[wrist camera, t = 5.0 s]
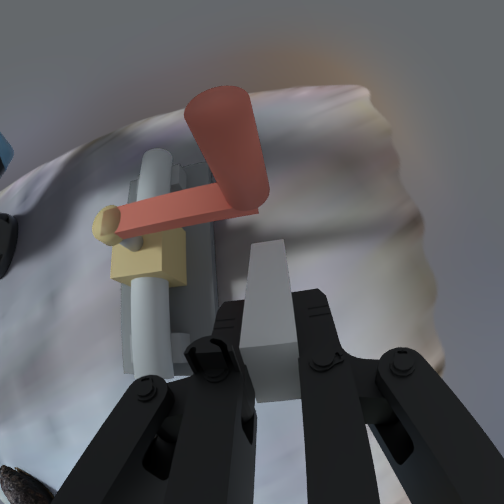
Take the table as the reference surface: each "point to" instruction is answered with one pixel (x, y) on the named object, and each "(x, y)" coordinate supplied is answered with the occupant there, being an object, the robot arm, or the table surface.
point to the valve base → (184, 298)
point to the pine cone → (23, 487)
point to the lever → (220, 163)
